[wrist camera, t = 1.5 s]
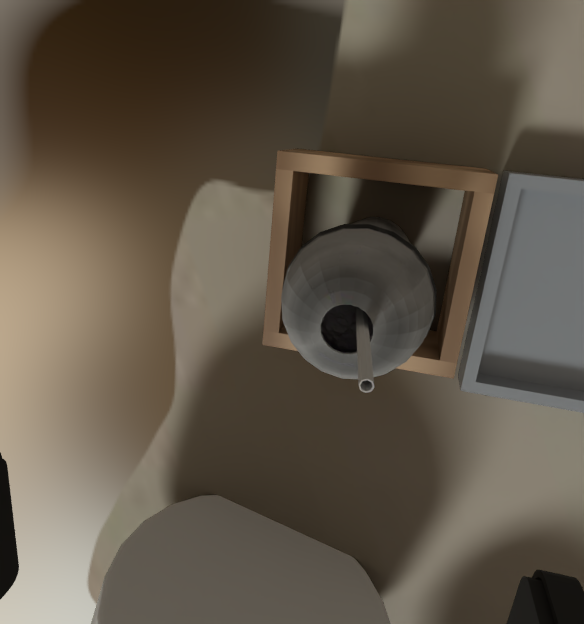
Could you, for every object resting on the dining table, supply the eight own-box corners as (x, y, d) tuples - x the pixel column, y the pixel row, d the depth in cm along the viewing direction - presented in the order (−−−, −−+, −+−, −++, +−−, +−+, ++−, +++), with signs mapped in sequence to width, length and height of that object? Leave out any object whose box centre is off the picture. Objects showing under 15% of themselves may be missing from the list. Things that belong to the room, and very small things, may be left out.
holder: (486, 168, 32) (498, 174, 28) (448, 347, 36) (453, 378, 32) (296, 148, 34) (277, 150, 30) (280, 319, 38) (262, 344, 34)
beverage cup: (328, 188, 35) (229, 250, 16) (440, 203, 33) (471, 290, 15) (315, 292, 37) (215, 449, 19) (419, 310, 36) (422, 497, 17)
